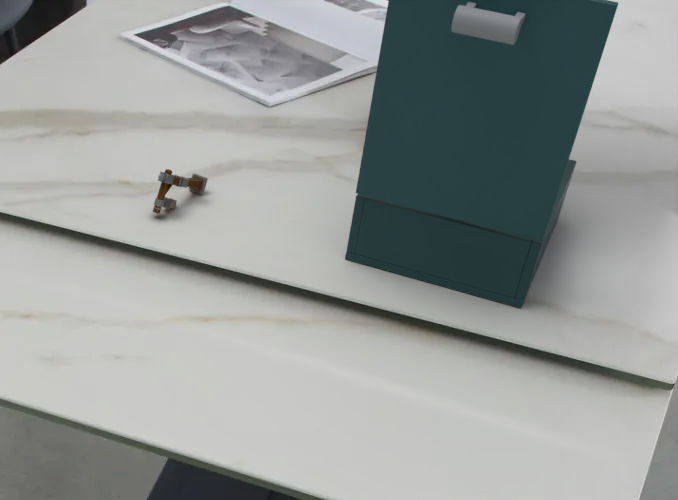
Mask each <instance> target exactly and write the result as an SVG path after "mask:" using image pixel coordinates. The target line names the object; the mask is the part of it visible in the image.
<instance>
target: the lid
mask: <svg viewBox="0 0 678 500" xmlns="http://www.w3.org/2000/svg"><path fill="white" fill-rule="evenodd" d="M618 5H619V2H617V1H613V0H388V1H387V8H386V13H385V20H384V26H383V32H382V38H381V43H380V49H379V55H378V60H377V66H376V73H375V78H374V84H373V89H372V94H371V101H370V106H369V107H370V108H369V112H368V113H369V114H368V119H367V125H366V131H365V136H364V142H363V148H362V155H361V160H360V166H359V171H358V178H357V184H356V187H355V194H357V195H358V194H361V195H364V196H368V197H372V198H376V199H380V200H384V201H387V202H391V203H395V204H399V205H403V206H407V207H410V208H414V209H418V210H422V211H426V212H430V213H433V214H437V215H441V216H445V217H449V218H453V219H456V220H460V221H464V222H468V223H472V224H476V225H479V226H483V227H487V228H491V229H495V230H499V231H502V232H506V233H510V234H514V235H518V236H522V237H525V238H529V239H533V240H537V241H541V242H542V241H543V239H544V236H545V233H546V229H547V226H548V223H549V220H550V217H551V214H552V211H553V207H554V204H555V201H556V198H557V195H558V192H559V189H560V186H561V182H562V179H563V176H564V173H565V170H566V167H567V164H568V160H569V159H570V158H571V154H572V152H573V148H574V144H575V141H576V138H577V136H578V132H579V129H580V126H581V123H582V119H583V117H584V113H585V111H586V107H587V103H588V101H589V97H590V95H591V91H592V88H593V85H594V81H595V78H596V76H597V72H598V69H599V66H600V63H601V60H602V56H603V53H604V51H605V47H606V44H607V41H608V37H609V34H610V31H611V29H612V25H613V22H614V19H615V16H616V12H617V9H618Z"/></svg>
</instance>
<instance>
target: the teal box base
mask: <svg viewBox="0 0 678 500" xmlns="http://www.w3.org/2000/svg"><path fill="white" fill-rule="evenodd" d="M576 165H577V161H576V160H575V159H570V158H569V160H568V164H567V167H566V170H565V173H564V176H563V179H562V182H561V186H560V189H559V192H558V195H557V198H556V201H555V204H554V207H553V211H552V214H551V217H550V220H549V223H548V226H547V229H546V233H545V236H544V239H543V241H542V242H541V241H537V240H533V239H529V238H525V237H522V236H518V235H514V234H510V233H506V232H502V231H499V230H495V229H491V228H487V227H483V226H479V225H476V224H472V223H468V222H464V221H460V220H456V219H453V218H449V217H445V216H441V215H437V214H433V213H430V212H426V211H422V210H418V209H414V208H410V207H407V206H403V205H399V204H395V203H391V202H387V201H384V200H380V199H376V198H372V197H368V196H364V195H361V194H357V195H355V201H354V206H353V210H352V211H353V213H352V218H351V223H350V227H349V228H350V229H349V235H348V239H347V246H346V252H345V257H344V259H345V260H346V261H349V262H350V261H351V262H353V263H358V264H361V265H365V266H368V267H371V268H375V269H378V270H382V271H386V272H389V273H393V274H397V275H401V276H404V277H407V278H411V279H414V280H419V281H422V282H425V283H428V284H432V285H436V286H440V287H443V288H446V289H451V290H453V291H457V292H461V293H465V294H468V295H472V296H476V297H479V298H482V299H486V300H490V301H493V302H496V303H500V304H504V305H508V306H511V307H515V308H519V309H522V308H523V306H524V303H525V300H526V298H527V295H528V293H529V291H530V288H531V286H532V284H533V281H534V278H535V276H536V274H537V271H538V268H539V267H540V264H541V262H542V259H543V257H544V255H545V252H546V249H547V248H548V245H549V242H550V239H551V237H552V235H553V233H554V230H555V228H556V225H557V223H558V221H559V218H560V214H561V211H562V208H563V205H564V202H565V199H566V196H567V192H568V190H569V187H570V183H571V181H572V177H573V175H574V171H575V169H576Z"/></svg>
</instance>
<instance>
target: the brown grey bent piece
mask: <svg viewBox="0 0 678 500" xmlns="http://www.w3.org/2000/svg"><path fill="white" fill-rule="evenodd" d="M157 177H158V179H157V181H159V182H160V186H159V189H158V192H157V195H156V197H155V199H154V202H153V210H152V213H155V214H158V215H159V214H161V211H162V208H164V209H166V210H168V211H169V210H171V209H172V210H175V209H176V206H177V201H178V200H176V199H173V198H171V197H166V194H167V193H168V192H170V189H171V188H172V187H173V186H175V187H179V188H185V189H187V188H188V191H192V192H195V193H197V194H199V195H202V196H204V194H205V190H206V187H207V184H208V179H209V178H208V177H205V176H202V175H201V174H197V173H195V172H194V173H192V175H191V177H185V176H183V175H182V176H180V175H177V174H173V170H171V169H169V168H168V169H167V168H166V169H164V172H163V171H160V172H159V174H158V176H157Z"/></svg>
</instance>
